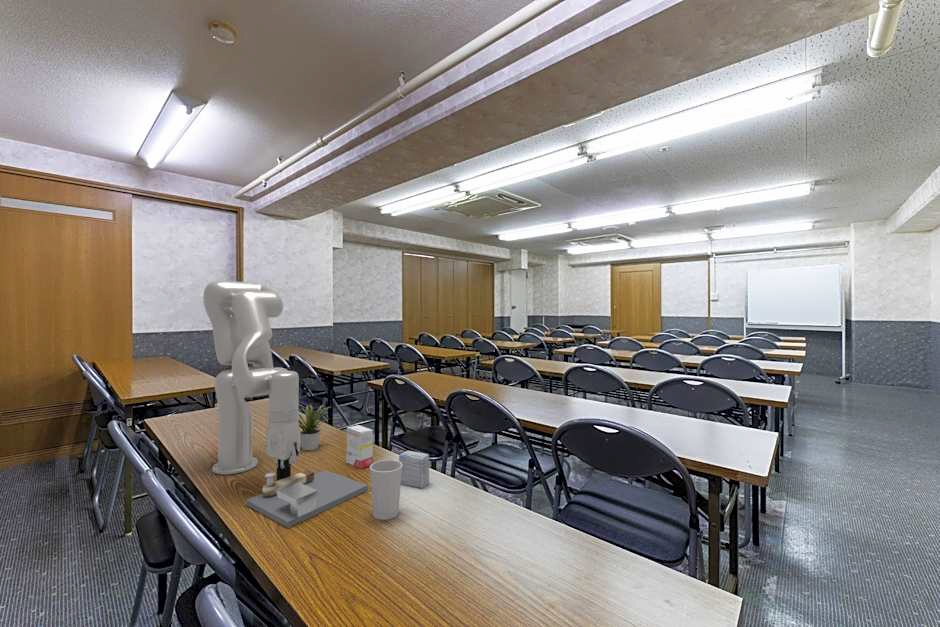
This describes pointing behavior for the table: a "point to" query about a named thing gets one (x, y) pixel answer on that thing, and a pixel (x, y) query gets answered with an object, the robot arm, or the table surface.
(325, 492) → the board
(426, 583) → the table surface
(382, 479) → the cup
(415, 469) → the medicine box
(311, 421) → the house plant
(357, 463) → the ink box
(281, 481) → the link
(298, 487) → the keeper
